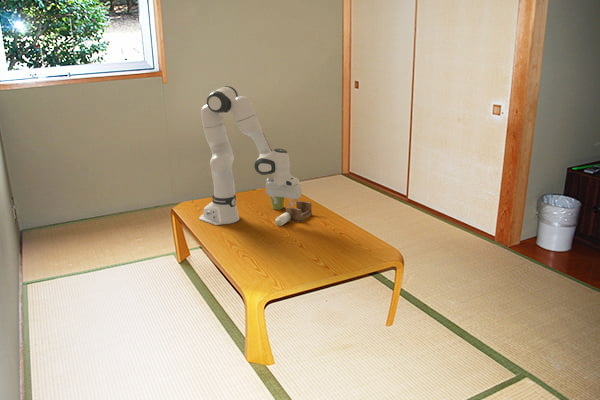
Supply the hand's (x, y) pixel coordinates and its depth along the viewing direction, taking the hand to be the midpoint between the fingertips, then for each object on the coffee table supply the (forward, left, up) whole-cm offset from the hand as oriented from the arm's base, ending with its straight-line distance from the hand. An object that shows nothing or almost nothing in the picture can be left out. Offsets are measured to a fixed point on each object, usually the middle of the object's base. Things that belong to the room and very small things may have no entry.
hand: (283, 204), depth 281 cm
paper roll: (-1, 0, -11) cm, 11 cm away
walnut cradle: (+2, +12, -11) cm, 16 cm away
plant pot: (-16, +19, -11) cm, 27 cm away
